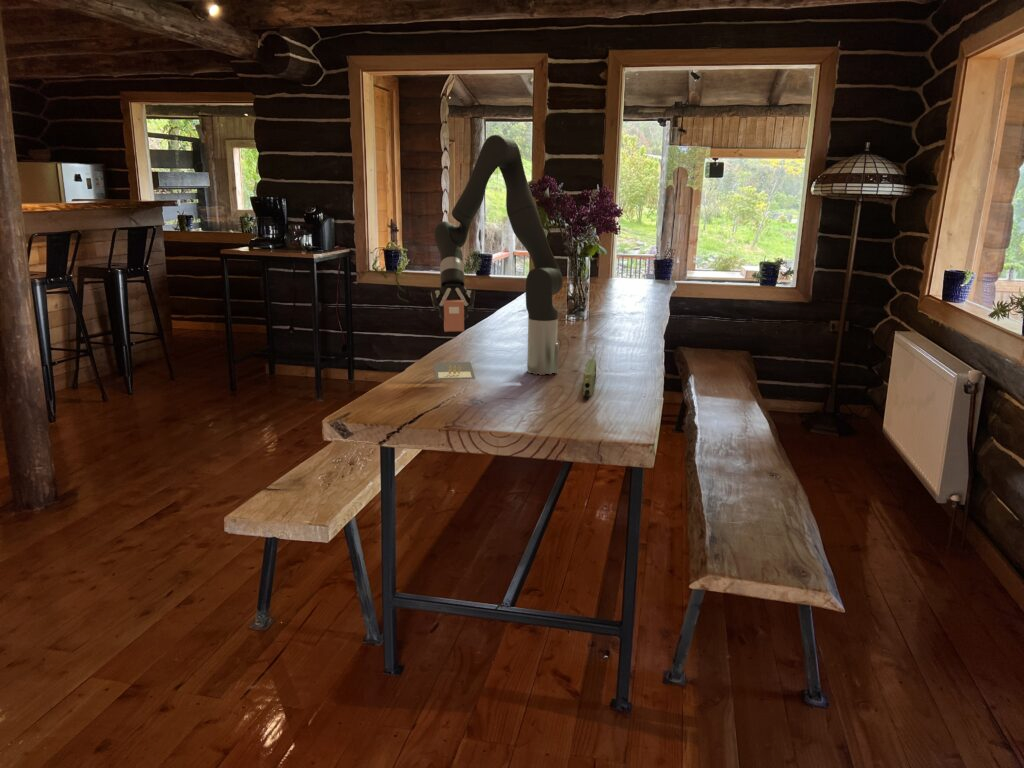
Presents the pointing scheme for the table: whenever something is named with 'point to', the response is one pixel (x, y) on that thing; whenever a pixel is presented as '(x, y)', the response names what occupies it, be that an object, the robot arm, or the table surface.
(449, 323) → the block
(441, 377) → the pin board
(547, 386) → the table surface
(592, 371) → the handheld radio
